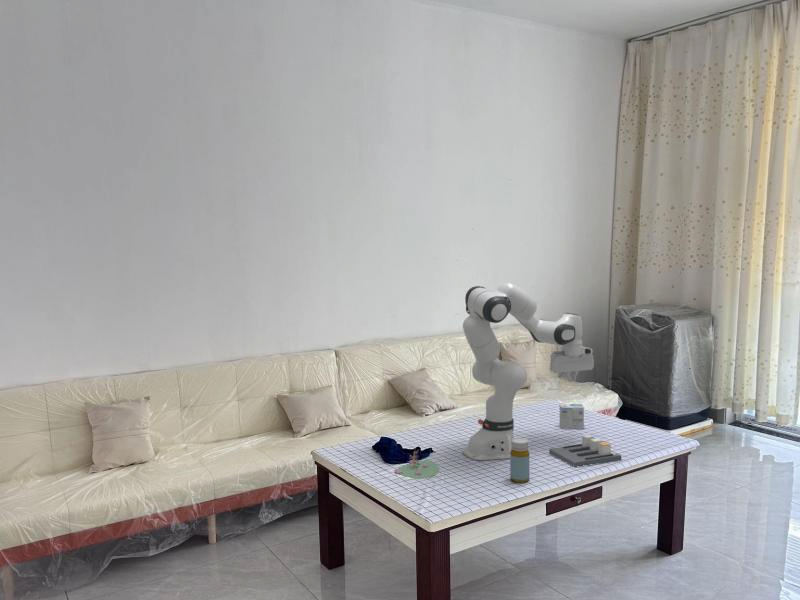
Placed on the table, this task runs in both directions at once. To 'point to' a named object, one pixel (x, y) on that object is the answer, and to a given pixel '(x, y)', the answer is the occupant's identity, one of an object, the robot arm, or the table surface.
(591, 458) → the switch panel
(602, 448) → the switch
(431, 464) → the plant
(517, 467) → the bottle
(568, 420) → the light bulb box
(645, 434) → the table surface
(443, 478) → the table surface
